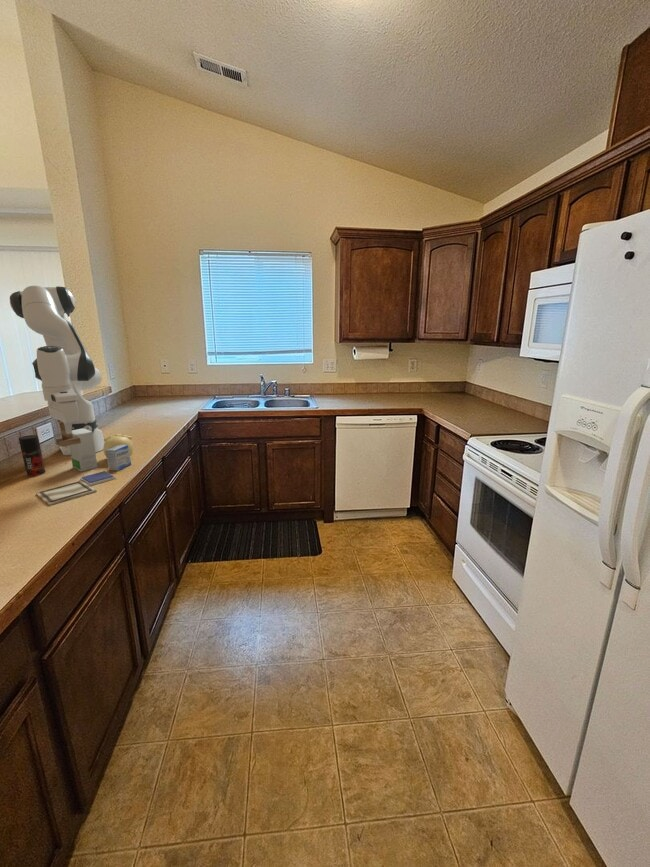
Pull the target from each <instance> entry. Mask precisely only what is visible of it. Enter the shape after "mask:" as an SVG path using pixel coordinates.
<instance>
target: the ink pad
mask: <svg viewBox="0 0 650 867" xmlns="http://www.w3.org/2000/svg"><path fill="white" fill-rule="evenodd" d="M116 478H117V477H116V476H115V475H113V474H111V473H109V472H108V471H106V470H103V471H99V472H96V473H93V474H87V475H84V476H82V477H80V480H79V481H83V482H84V483H86V484H87V485H89V486H91V487H92V486H95V485H98V484H103V483H104V482H108V481H112V480H116Z"/></svg>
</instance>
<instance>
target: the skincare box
mask: <svg viewBox="0 0 650 867" xmlns="http://www.w3.org/2000/svg"><path fill="white" fill-rule="evenodd" d="M72 435H75V436H77V437H79V438H80V441H81V443H79V444H74V445H69V447H70V453H71V455H70V458H71V466H72V468H73V469H76V470H77V471H80V472H86V471H89V470H93V469H96V468H98V462H97V455H96V453H97V452H95V446H94V439H93V432H92V431H89V430H86V429H83V428H82V429H77V430H72Z"/></svg>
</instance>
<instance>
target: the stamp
mask: <svg viewBox="0 0 650 867" xmlns="http://www.w3.org/2000/svg"><path fill="white" fill-rule="evenodd" d="M56 420H57V419H56ZM57 423H58V426H59V429H60V434H61V437H57V438H55V443H56V445H58V446H60V447H64V446H69V445H74V444H79V443H81V441H80V438H79V437H77V436H75V435H72V433H71V434H66V433H65V430H64V429H65V425H64V423H63V422H62V421H59V420H57Z"/></svg>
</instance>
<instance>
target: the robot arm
mask: <svg viewBox="0 0 650 867" xmlns="http://www.w3.org/2000/svg"><path fill="white" fill-rule="evenodd" d="M9 305H10V307H11V310H12V311H13V312H14V313H15V314H16V316H17V317H19V318H21V319H24V322H25V324H26V326H27V327H28V328H29V329H31V330H32V331H33V332H35V333H37V334H38V335H42V337H43V339H44V342H45V345H44V346H40V347H38V348H37V349H36V358H35V359H34V360H33V362H31V364H32V366H33V369H34V370H33V371H34V375H35V376H34V377H35V379H38V380H39V381H41V389H42V394H43V399H44V401H46V402H47V406H48V412H49V413H48V414H49V416H50V417H51V418H53V419H54V420H59V421H62V422H63V423H64V425H65V429H64V430H65V433H66V434H71V433H72V430H77V429H82V428H83V429H86V430H89V431H92V432H93V439H94V446H95V453H97V452H100V451H102V450H103V447H104V443H105V441H104V439H105V438H104V435H103V431H102V429H100V428H98V421H97V419H96V417H95V410H94V404H93V403H92V402H91V401H90V400H87V399H85V398H84V396H83V394H82V393H81V392H82V391H86V390H90V389H93V388H96V387H97V386H99V385H100V384H101V382H102V379H103V378H102V373H101V372H100V370H99V369H98V368H97V367H96V365H95V363H94V361H93V359H92V358H91V356H90V354H89V353H88V351H87V350H86V348H85V346H84V343H83V342H82V340H81V338H80V336H79V334H78V332H77V331H76V329H75V327H74V326H73V323H71V322H70V321H69V320H68V319H67V318H68V317H70V316H71V314H72V313H73V312H74V310H75V309H76V299H75V296H74V295H73V293H72V292H71V291H70V289H68V288H67V287H66V286H61V285H59V286H51V287H50V286H47V287H46V286H45V287H43V286H40V285H29V286H27V287H25V288H24V289H23V291H21V290H18V291H15V292H13V293H11V294H10V295H9ZM65 314H66V315H65ZM66 316H67V317H66ZM60 451H61V453H62V455H63V456H71V453H70V447H69V446H64V447H61V446H60Z"/></svg>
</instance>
